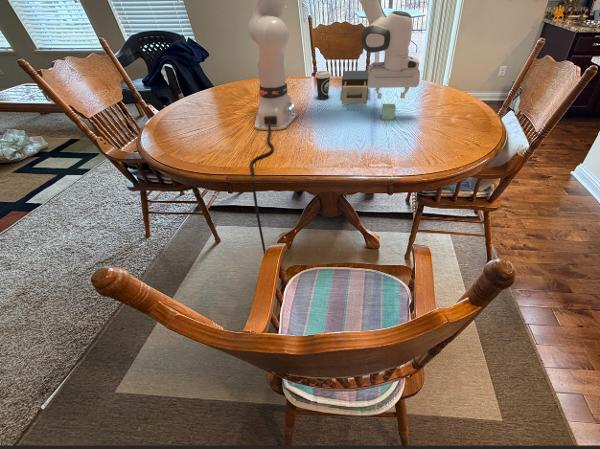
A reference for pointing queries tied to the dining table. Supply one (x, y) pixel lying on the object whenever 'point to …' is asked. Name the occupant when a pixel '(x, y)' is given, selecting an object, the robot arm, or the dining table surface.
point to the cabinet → (355, 77)
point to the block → (388, 111)
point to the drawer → (354, 92)
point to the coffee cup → (322, 84)
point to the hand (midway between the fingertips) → (390, 98)
